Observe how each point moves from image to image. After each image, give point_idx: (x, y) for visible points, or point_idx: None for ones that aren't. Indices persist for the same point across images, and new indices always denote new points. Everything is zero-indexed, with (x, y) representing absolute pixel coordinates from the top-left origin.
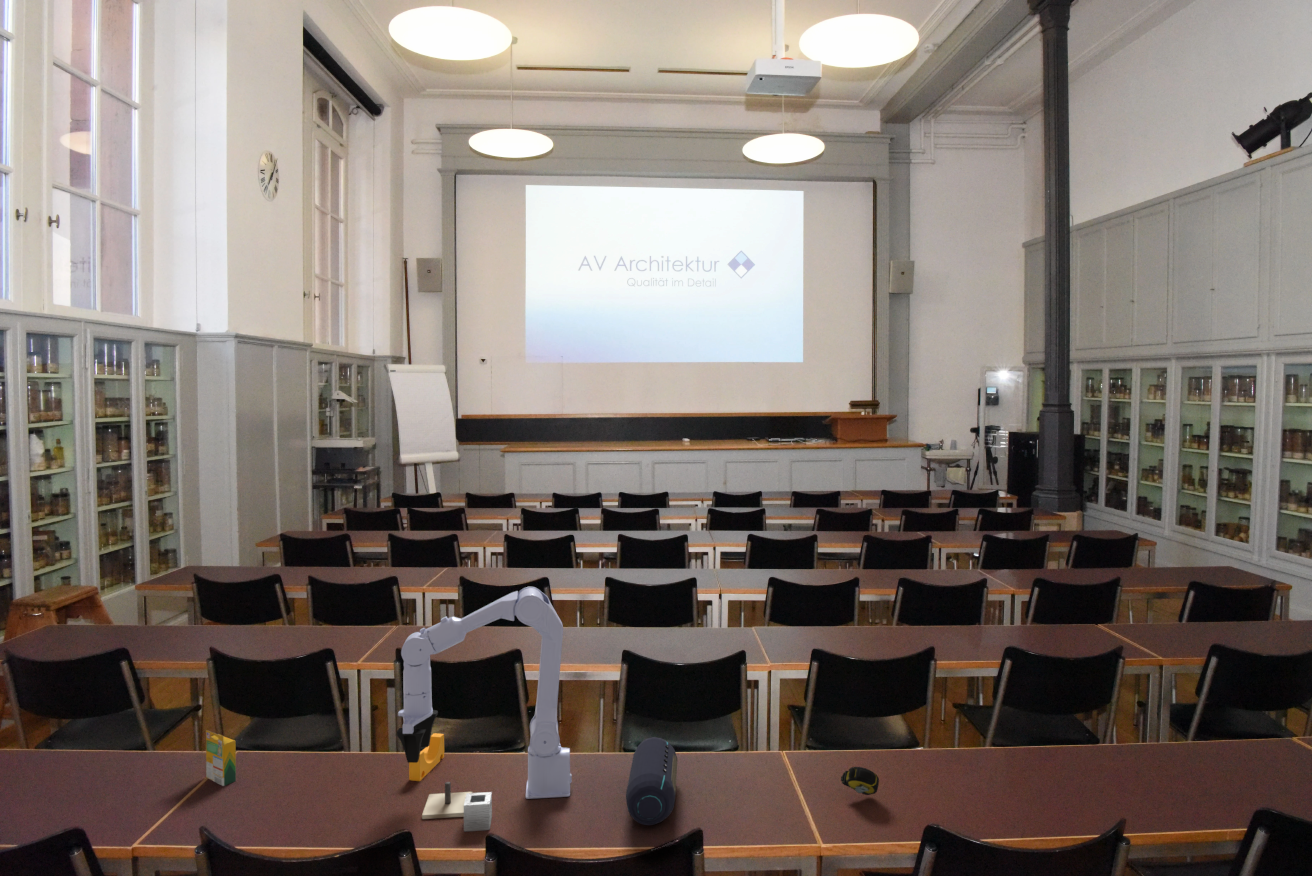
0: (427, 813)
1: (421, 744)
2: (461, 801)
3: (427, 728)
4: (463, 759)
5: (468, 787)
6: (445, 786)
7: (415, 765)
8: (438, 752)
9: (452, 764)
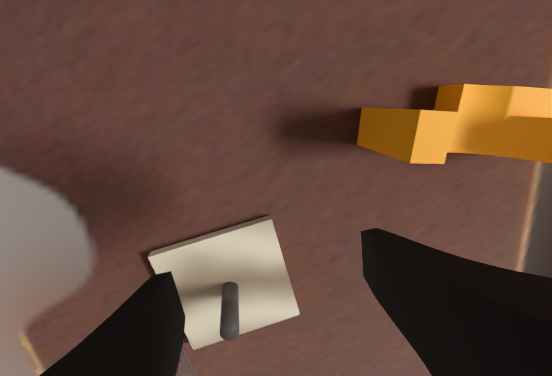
0: (162, 265)
1: (369, 254)
2: (244, 314)
3: (439, 366)
4: (496, 201)
5: (338, 281)
6: (220, 324)
7: (388, 136)
8: (504, 155)
9: (469, 185)
